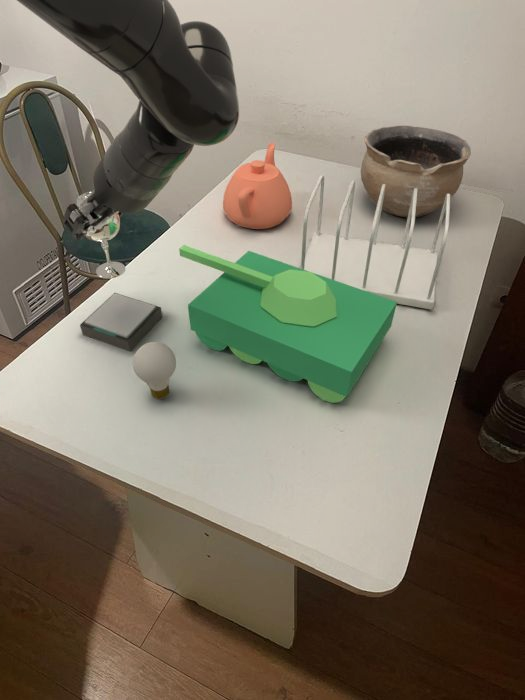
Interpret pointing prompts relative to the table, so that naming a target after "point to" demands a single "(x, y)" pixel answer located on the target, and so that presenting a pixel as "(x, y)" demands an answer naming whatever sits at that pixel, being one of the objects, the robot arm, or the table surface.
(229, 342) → the toy tank
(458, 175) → the ceramic bowl
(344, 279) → the file sorter
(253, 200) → the teapot
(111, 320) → the kitchen scale
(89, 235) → the wineglass
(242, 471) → the table surface
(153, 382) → the light bulb
